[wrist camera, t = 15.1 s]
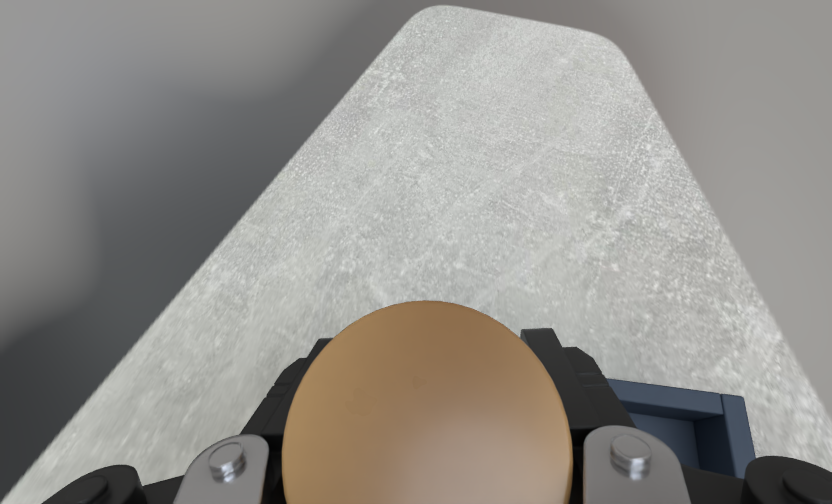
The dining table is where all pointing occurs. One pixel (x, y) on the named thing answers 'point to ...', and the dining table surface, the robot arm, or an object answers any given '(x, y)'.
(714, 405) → the grid
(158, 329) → the dining table surface
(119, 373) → the dining table surface
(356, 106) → the dining table surface
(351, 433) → the wooden dowel cylinder
